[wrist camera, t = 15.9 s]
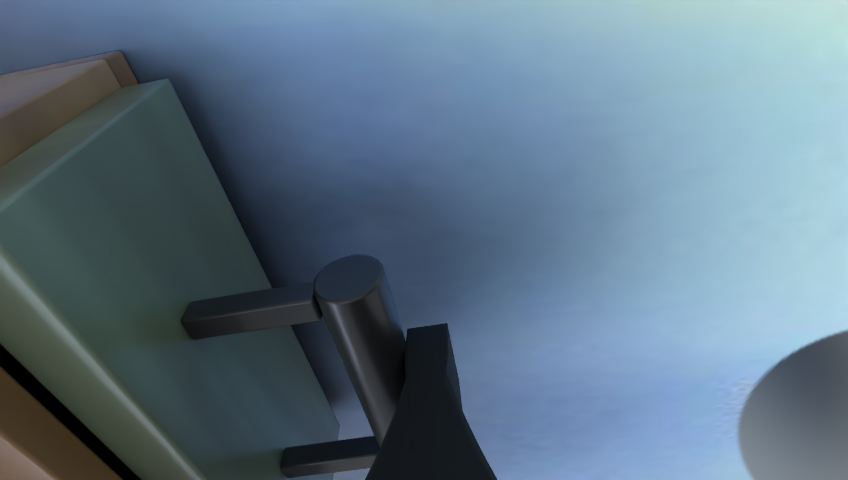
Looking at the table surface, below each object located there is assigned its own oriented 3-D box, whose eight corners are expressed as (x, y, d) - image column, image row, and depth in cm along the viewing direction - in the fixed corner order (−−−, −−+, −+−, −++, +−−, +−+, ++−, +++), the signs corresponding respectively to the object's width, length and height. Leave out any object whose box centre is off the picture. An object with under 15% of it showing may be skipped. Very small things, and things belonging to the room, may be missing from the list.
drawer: (353, 40, 10) (308, 164, 5) (447, 410, 18) (462, 592, 13) (-394, 190, 11) (-936, 389, 7) (-8, 471, 19) (-140, 654, 14)
